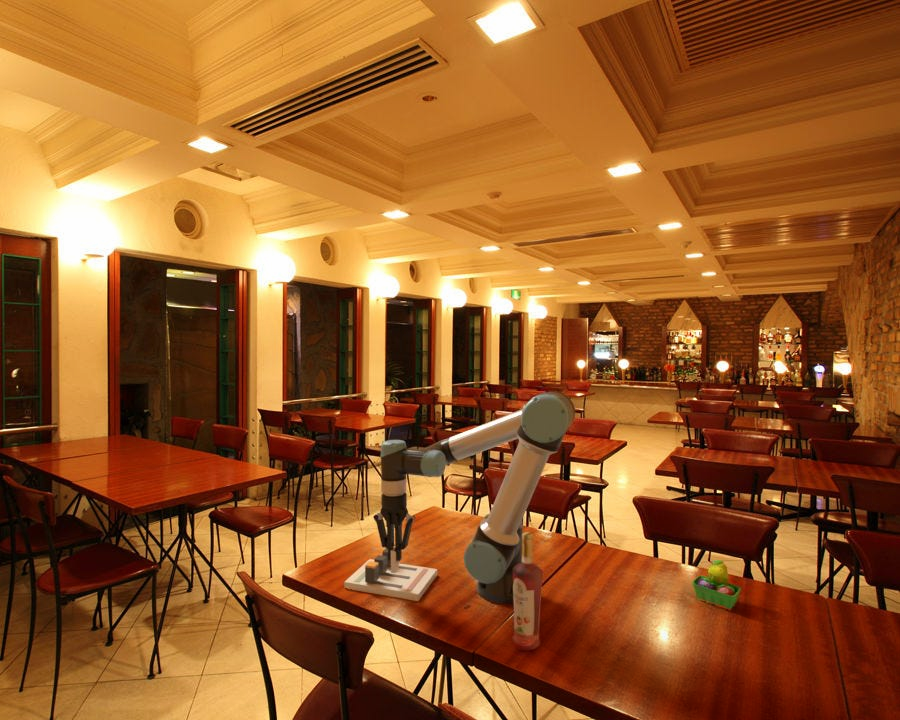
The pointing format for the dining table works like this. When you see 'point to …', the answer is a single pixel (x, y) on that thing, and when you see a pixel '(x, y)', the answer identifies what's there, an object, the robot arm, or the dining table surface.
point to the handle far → (385, 553)
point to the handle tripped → (371, 572)
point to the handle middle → (381, 563)
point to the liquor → (527, 598)
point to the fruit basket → (716, 586)
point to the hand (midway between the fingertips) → (395, 570)
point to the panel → (395, 581)
